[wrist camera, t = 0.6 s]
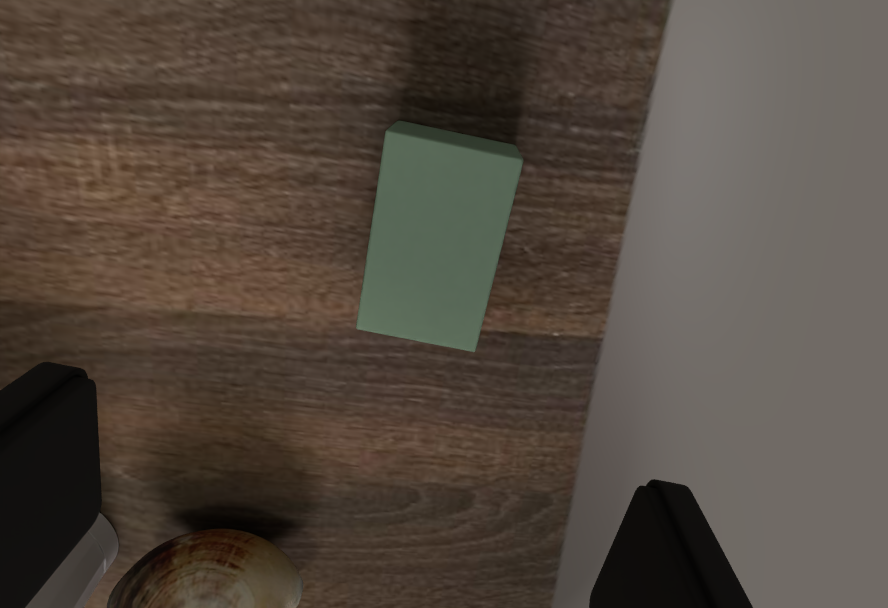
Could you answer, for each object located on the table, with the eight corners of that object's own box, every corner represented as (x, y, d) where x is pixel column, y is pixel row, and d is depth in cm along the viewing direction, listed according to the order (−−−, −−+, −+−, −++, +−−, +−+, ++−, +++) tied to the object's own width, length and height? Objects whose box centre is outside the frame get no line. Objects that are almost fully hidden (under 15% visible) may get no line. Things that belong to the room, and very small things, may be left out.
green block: (397, 119, 23) (385, 129, 20) (516, 145, 23) (524, 158, 20) (369, 296, 26) (355, 329, 23) (474, 317, 26) (475, 353, 23)
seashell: (313, 507, 31) (265, 644, 24) (318, 580, 34) (276, 725, 26) (146, 497, 31) (48, 630, 24) (162, 570, 34) (77, 711, 26)
